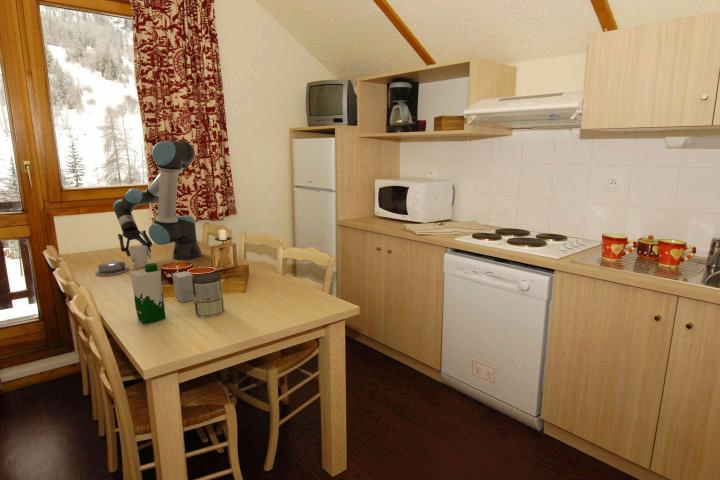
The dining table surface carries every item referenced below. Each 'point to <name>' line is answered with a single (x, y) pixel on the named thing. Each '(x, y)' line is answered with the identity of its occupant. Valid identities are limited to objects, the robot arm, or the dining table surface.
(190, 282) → the small box
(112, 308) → the dining table surface
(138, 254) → the white cup
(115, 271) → the grey round shallow piece
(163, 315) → the milk carton
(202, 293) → the coffee can
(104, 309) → the dining table surface
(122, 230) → the robot arm
